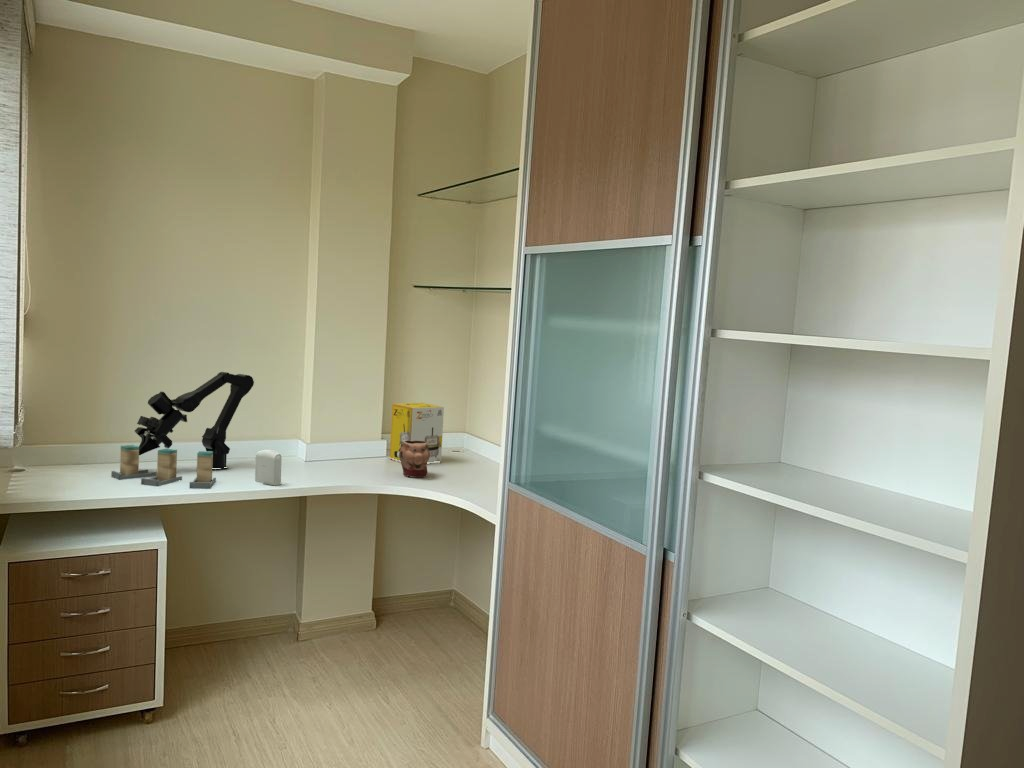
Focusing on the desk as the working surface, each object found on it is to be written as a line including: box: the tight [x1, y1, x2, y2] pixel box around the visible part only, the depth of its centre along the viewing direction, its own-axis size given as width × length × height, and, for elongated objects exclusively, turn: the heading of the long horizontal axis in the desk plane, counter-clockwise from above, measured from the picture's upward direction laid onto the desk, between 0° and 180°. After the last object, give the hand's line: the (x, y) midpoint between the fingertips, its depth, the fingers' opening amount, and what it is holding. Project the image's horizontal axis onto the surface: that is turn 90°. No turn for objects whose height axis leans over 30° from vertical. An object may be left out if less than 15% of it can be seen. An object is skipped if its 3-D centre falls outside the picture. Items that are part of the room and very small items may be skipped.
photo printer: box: [254, 449, 283, 486], centre depth 298 cm, size 10×4×12 cm, turn 63°
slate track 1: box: [111, 469, 157, 481], centre depth 295 cm, size 13×7×2 cm, turn 140°
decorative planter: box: [399, 441, 430, 478], centre depth 330 cm, size 20×12×14 cm, turn 24°
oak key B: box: [156, 448, 178, 481], centre depth 291 cm, size 4×4×11 cm
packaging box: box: [389, 402, 445, 462], centre depth 360 cm, size 16×16×25 cm
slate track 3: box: [189, 476, 217, 490], centre depth 288 cm, size 13×7×2 cm, turn 12°
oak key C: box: [196, 450, 213, 482], centre depth 290 cm, size 4×4×11 cm
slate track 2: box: [140, 475, 183, 487], centre depth 288 cm, size 13×7×2 cm, turn 166°
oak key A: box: [119, 444, 140, 476], centre depth 293 cm, size 4×4×11 cm
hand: (136, 454), depth 295 cm, fingers closed
